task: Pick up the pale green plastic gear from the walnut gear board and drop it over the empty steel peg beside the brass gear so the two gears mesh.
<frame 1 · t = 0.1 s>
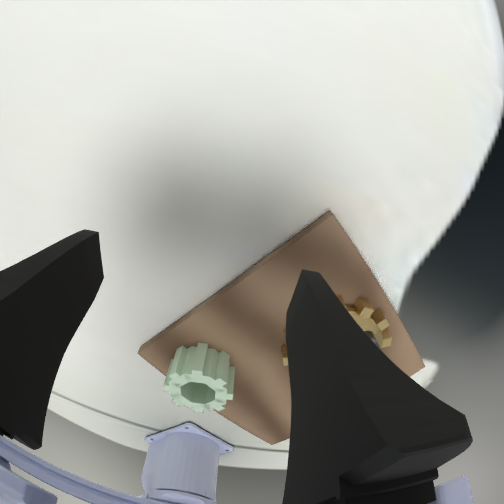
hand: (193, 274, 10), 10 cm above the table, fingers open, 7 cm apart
gear board: (294, 363, 25), on the table
pale green gear: (202, 366, 24), point 1 cm above the table, touching gear board
brass gear: (335, 341, 23), resting on gear board
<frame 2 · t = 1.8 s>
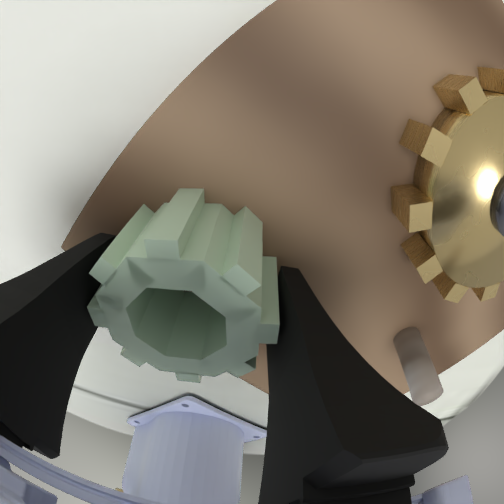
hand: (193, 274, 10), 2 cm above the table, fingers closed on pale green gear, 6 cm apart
gear board: (403, 249, 11), on the table
pale green gear: (196, 262, 10), point 1 cm above the table, touching gear board, gripper
brass gear: (488, 185, 8), resting on gear board
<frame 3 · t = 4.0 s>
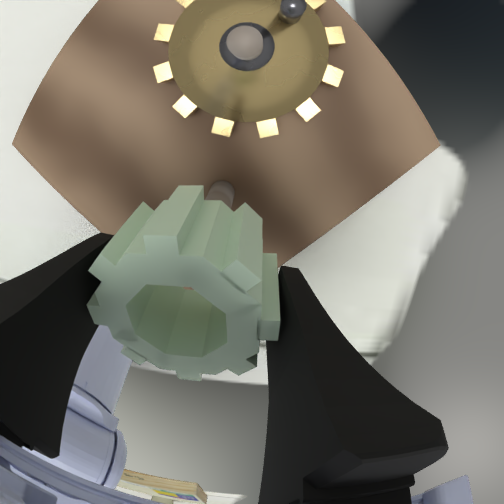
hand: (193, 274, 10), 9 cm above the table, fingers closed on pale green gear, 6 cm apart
gear board: (199, 116, 15), on the table
puzzle box: (150, 479, 69), on the table
reusable coffee cup: (163, 495, 89), on the table
pale green gear: (196, 260, 10), point 8 cm above the table, touching gripper
brass gear: (249, 51, 12), resting on gear board
when the fingers open (3 cm above the table, at t = 6.0 s): pale green gear stays where it is, resting on gear board.
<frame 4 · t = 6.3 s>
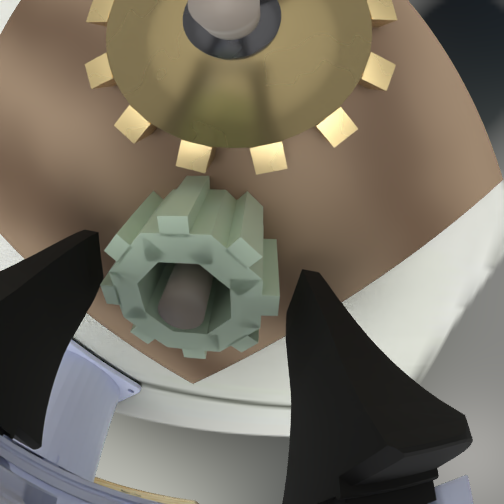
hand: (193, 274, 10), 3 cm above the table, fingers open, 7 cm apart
gear board: (165, 133, 10), on the table
puzzle box: (147, 494, 64), on the table
pale green gear: (202, 245, 11), point 1 cm above the table, touching gear board
brass gear: (238, 29, 7), resting on gear board
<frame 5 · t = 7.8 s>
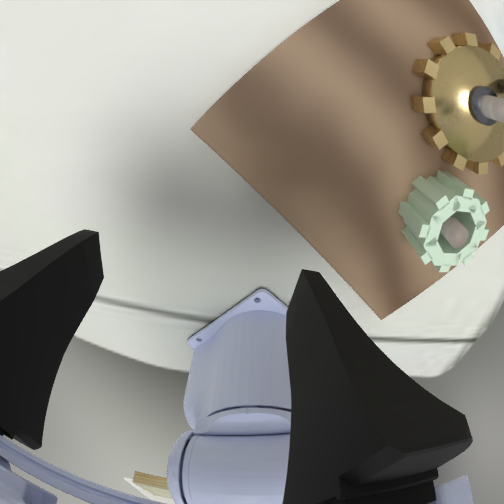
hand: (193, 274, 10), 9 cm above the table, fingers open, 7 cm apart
gear board: (421, 143, 15), on the table
puzzle box: (198, 487, 70), on the table
pale green gear: (433, 209, 17), point 1 cm above the table, touching gear board
brass gear: (467, 101, 13), resting on gear board
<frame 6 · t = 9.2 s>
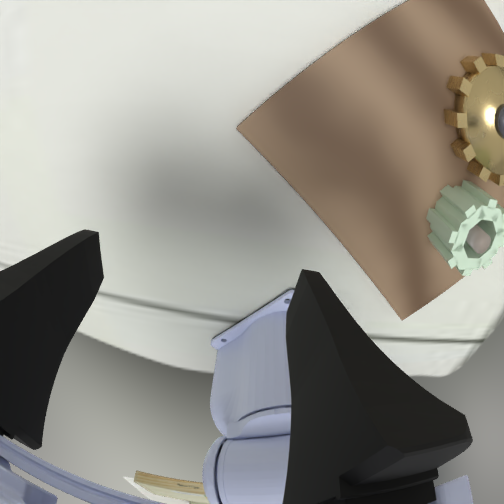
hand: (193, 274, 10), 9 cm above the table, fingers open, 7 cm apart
gear board: (449, 154, 16), on the table
puzzle box: (199, 486, 70), on the table
reusable coffee cup: (200, 500, 89), on the table
pale green gear: (457, 217, 17), point 1 cm above the table, touching gear board
brass gear: (492, 117, 13), resting on gear board
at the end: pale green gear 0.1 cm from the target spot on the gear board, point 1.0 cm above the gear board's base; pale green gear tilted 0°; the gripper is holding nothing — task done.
